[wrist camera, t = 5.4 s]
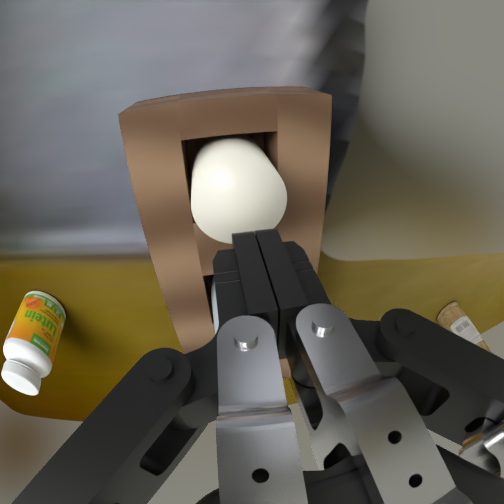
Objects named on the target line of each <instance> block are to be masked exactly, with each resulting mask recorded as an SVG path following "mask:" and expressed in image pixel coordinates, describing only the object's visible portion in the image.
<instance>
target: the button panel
mask: <svg viewBox="0 0 504 504" xmlns="http://www.w3.org/2000/svg"><path fill="white" fill-rule="evenodd" d="M331 113H332V95H329V94H326V93H323V92H319V91H316V90H312V89H309V88H305V87H251V88H235V89H222V90H212V91H203V92H194V93H187V94H180V95H173V96H167V97H161V98H155V99H150V100H145V101H140V102H137V103H135V104H133V105H132V106H130V107H129V108H127V109H126V110H124V111H123V112H121V113H119V114H118V116H119V122H120V128H121V133H122V139H123V144H124V149H125V154H126V159H127V164H128V169H129V173H130V178H131V182H132V187H133V191H134V195H135V199H136V203H137V207H138V211H139V215H140V219H141V223H142V227H143V230H144V234H145V238H146V241H147V245H148V248H149V252H150V255H151V258H152V262H153V265H154V268H155V271H156V275H157V278H158V281H159V284H160V287H161V290H162V293H163V296H164V299H165V302H166V305H167V308H168V311H169V314H170V317H171V319H172V322H173V325H174V328H175V330H176V333H177V336H178V338H179V341H180V344H181V346H182V349H183V352H184V354H186V353H189V352H191V351H194V350H196V349H199V348H201V347H203V346H204V345H206V344H207V343H208V342H210V341H211V340H212V338H213V337H214V336H215V329H214V319H213V308H212V297H211V286H210V276H211V275H213V274H214V272H213V262H212V261H213V259H214V257H215V255H216V253H217V251H218V250H226V249H233V246H232V244H229V243H224V242H220V241H217V240H215V239H213V238H211V237H209V236H208V235H207V234H205V233H204V232H203V231H202V230H201V229H200V228H199V226H198V225H197V223H196V222H195V220H194V217H193V215H192V210H191V188H192V168H193V160H194V156H195V154H196V152H197V150H198V148H199V147H200V146H201V144H202V143H203V142H204V141H206V140H207V139H208V138H210V137H212V136H221V135H232V134H245V135H247V136H249V137H251V138H252V139H253V140H255V141H256V142H257V143H258V145H259V146H260V147H261V149H262V150H263V152H264V153H265V154H266V156H267V157H268V159H269V160H270V162H271V163H272V165H273V166H274V168H275V169H276V171H277V172H278V174H279V175H280V177H281V178H282V180H283V182H284V184H285V187H286V192H287V205H286V209H285V212H284V215H283V216H282V218H281V220H280V222H279V223H278V224H277V225H276V227H275V228H276V229H277V230H278V232H279V235H280V237H281V239H282V242H288V241H294V242H295V243H297V244H298V245H299V246H301V247H302V248H303V249H304V250H305V252H306V254H307V256H308V258H309V262H311V264H312V266H313V268H314V271H315V272H316V274H317V272H318V265H319V257H320V249H321V241H322V231H323V223H324V213H325V203H326V192H327V180H328V167H329V152H330V135H331ZM279 361H280V367H281V373H282V378H287V377H289V373H290V367H289V364H288V360H287V358H286V359H280V360H279Z"/></svg>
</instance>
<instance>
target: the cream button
mask: <svg viewBox="0 0 504 504" xmlns="http://www.w3.org/2000/svg"><path fill="white" fill-rule="evenodd" d="M286 205H287V192H286V187H285V184H284V182H283V180H282V178H281V177H280V175H279V174H278V172H277V171H276V169H275V168H274V166H273V165H272V163H271V162H270V160H269V159H268V157H267V156H266V154H265V153H264V152H263V150H262V149H261V147H260V146H259V145H258V143H257V142H256V141H255V140H253V139H252V138H251V137H249V136H247V135H245V134H232V135H221V136H212V137H210V138H208V139H207V140H206V141H204V142H203V143H202V144H201V146H200V147H199V148H198V150H197V152H196V154H195V156H194V160H193V168H192V188H191V210H192V215H193V217H194V220H195V222H196V223H197V225H198V226H199V228H200V229H201V230H202V231H203V232H204V233H205V234H207V235H208V236H209V237H211V238H213V239H215V240H217V241H220V242H224V243H229V244H232V233H240V232H248V231H256V230H264V229H272V228H275V227H276V225H277V224H278V223H279V222H280V220H281V218H282V216H283V215H284V212H285V209H286Z"/></svg>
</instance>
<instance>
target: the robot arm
mask: <svg viewBox="0 0 504 504" xmlns="http://www.w3.org/2000/svg"><path fill="white" fill-rule="evenodd" d="M232 246H233V249H226V250H218V251H217V253H216V255H215V257H214V259H213V261H212V262H213V272H214V282H215V292H216V301H217V310H218V319H219V326H218V330H217V333H216V334H215V336H214V337H213V338H212V340H211V341H210V342H208V343H207V344H206V345H204V346H203V347H201V348H199V349H196V350H194V351H191V352H189V353H186V354H182V353H181V352H180V351H177V350H175V349H171V348H159V349H155V350H152V351H150V352H148V353H147V354H145V355H144V356H143V357H142V358H141V359H140V360H139V361H138V362H137V363H136V364H135V365H134V366H133V367H132V369H131V370H130V371H129V372H128V373H127V374H126V375H125V376H124V377H123V378H122V380H121V381H120V382H119V383H118V384H117V385H116V386H115V387H114V388H113V389H112V391H111V392H110V393H109V394H108V395H107V396H106V397H105V398H104V399H103V401H102V402H101V403H100V404H99V405H98V406H97V407H96V408H95V409H94V411H93V412H92V413H91V414H90V415H89V416H88V417H87V418H86V420H85V421H84V422H83V423H82V424H81V426H79V427H78V428H77V430H76V431H75V432H74V433H73V434H72V435H71V436H70V438H69V439H68V440H67V441H66V442H65V443H64V444H63V445H62V446H61V448H60V449H59V450H58V451H57V452H56V453H55V454H54V456H53V457H52V458H51V459H50V460H49V461H48V462H47V464H46V465H45V466H44V467H43V468H42V469H41V470H40V471H39V473H38V474H37V475H36V476H35V477H34V478H33V479H32V481H31V482H30V483H29V484H28V485H27V486H26V488H25V489H24V490H23V491H22V492H21V493H20V494H19V496H18V497H17V498H16V499H15V500H14V501H13V503H12V504H147V503H148V502H149V500H150V499H151V498H152V497H153V495H154V494H155V493H156V492H157V490H158V489H159V488H160V487H161V486H162V484H163V483H164V481H166V479H167V478H168V477H169V475H170V474H171V473H172V471H173V470H174V469H175V468H176V466H177V465H178V464H179V463H180V461H181V460H182V459H183V457H184V456H185V455H186V453H187V452H188V451H189V449H190V448H191V447H192V445H193V444H194V443H195V441H196V440H197V439H198V437H199V436H200V435H201V433H202V432H203V430H204V429H205V428H206V426H207V425H208V423H210V422H212V421H214V420H216V442H217V463H218V480H219V488H218V489H216V490H214V491H212V492H211V493H209V494H207V495H206V496H205V497H203V498H202V499H201V500H199V501H198V502H197V503H196V504H504V359H502V358H500V357H498V356H496V355H494V354H493V353H491V352H489V351H487V350H485V349H483V348H481V347H479V346H478V345H476V344H474V343H472V342H470V341H468V340H466V339H464V338H462V337H460V336H459V335H457V334H455V333H453V332H451V331H449V330H447V329H445V328H443V327H441V326H439V325H437V324H435V323H434V322H432V321H430V320H428V319H426V318H424V317H422V316H420V315H418V314H416V313H414V312H412V311H410V310H407V309H392V310H390V311H388V312H386V313H385V314H384V315H383V316H382V318H381V321H365V320H355V319H350V318H348V317H347V316H346V314H345V313H344V312H343V311H342V310H340V309H339V308H337V307H335V306H333V305H331V303H330V301H329V299H328V297H327V295H326V293H325V291H324V289H323V287H322V285H321V282H320V280H319V278H318V276H317V274H316V272H315V271H314V268H313V266H312V264H311V262H309V258H308V256H307V254H306V252H305V250H304V249H303V248H302V247H301V246H299V245H298V244H297V243H295V242H294V241H288V242H282V239H281V237H280V235H279V232H278V230H277V229H276V228H272V229H264V230H256V231H248V232H240V233H232ZM286 358H287V360H288V364H289V367H290V373H289V380H290V383H291V386H292V389H293V391H294V394H295V397H296V399H297V402H298V404H299V407H300V410H301V412H302V415H303V417H304V420H305V423H306V425H307V428H308V431H309V435H310V444H311V449H312V453H313V456H314V458H315V461H316V464H317V466H318V469H319V471H302V465H301V459H300V453H299V447H298V442H297V436H296V431H295V425H294V420H293V416H292V412H291V410H290V408H289V407H288V405H287V401H286V396H285V390H284V384H283V379H282V373H281V367H280V361H279V360H280V359H286ZM427 429H429V430H431V431H433V432H435V433H437V434H439V435H441V436H443V437H445V438H447V439H449V440H451V441H453V442H455V443H457V444H459V445H461V446H462V448H461V449H460V451H459V456H457V455H455V454H453V453H451V452H450V451H448V450H446V449H444V448H442V447H440V446H438V445H436V444H435V443H434V441H433V439H432V437H431V435H430V433H429V431H428V430H427Z"/></svg>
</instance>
